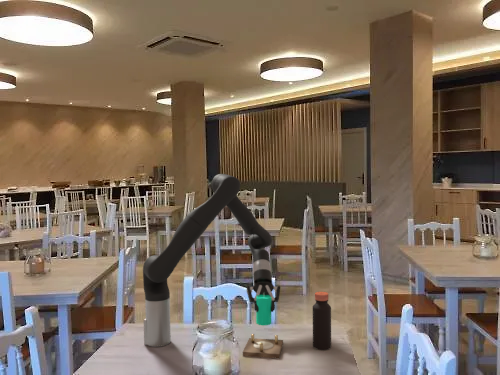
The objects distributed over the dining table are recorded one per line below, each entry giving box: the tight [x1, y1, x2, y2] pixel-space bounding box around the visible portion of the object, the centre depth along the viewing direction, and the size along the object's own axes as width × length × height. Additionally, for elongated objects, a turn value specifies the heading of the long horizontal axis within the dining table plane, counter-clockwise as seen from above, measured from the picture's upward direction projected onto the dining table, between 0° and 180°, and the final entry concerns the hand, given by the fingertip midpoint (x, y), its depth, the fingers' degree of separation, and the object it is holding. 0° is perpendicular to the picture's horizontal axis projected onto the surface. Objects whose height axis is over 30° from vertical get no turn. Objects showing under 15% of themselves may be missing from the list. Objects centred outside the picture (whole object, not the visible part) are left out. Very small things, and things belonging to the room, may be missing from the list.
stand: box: [242, 337, 284, 359], centre depth 165 cm, size 13×13×2 cm
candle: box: [255, 295, 272, 327], centre depth 176 cm, size 6×6×12 cm
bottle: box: [312, 291, 332, 351], centre depth 166 cm, size 7×7×20 cm
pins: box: [250, 333, 279, 352], centre depth 163 cm, size 10×9×3 cm
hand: (265, 310), depth 174 cm, fingers closed on candle, 5 cm apart
